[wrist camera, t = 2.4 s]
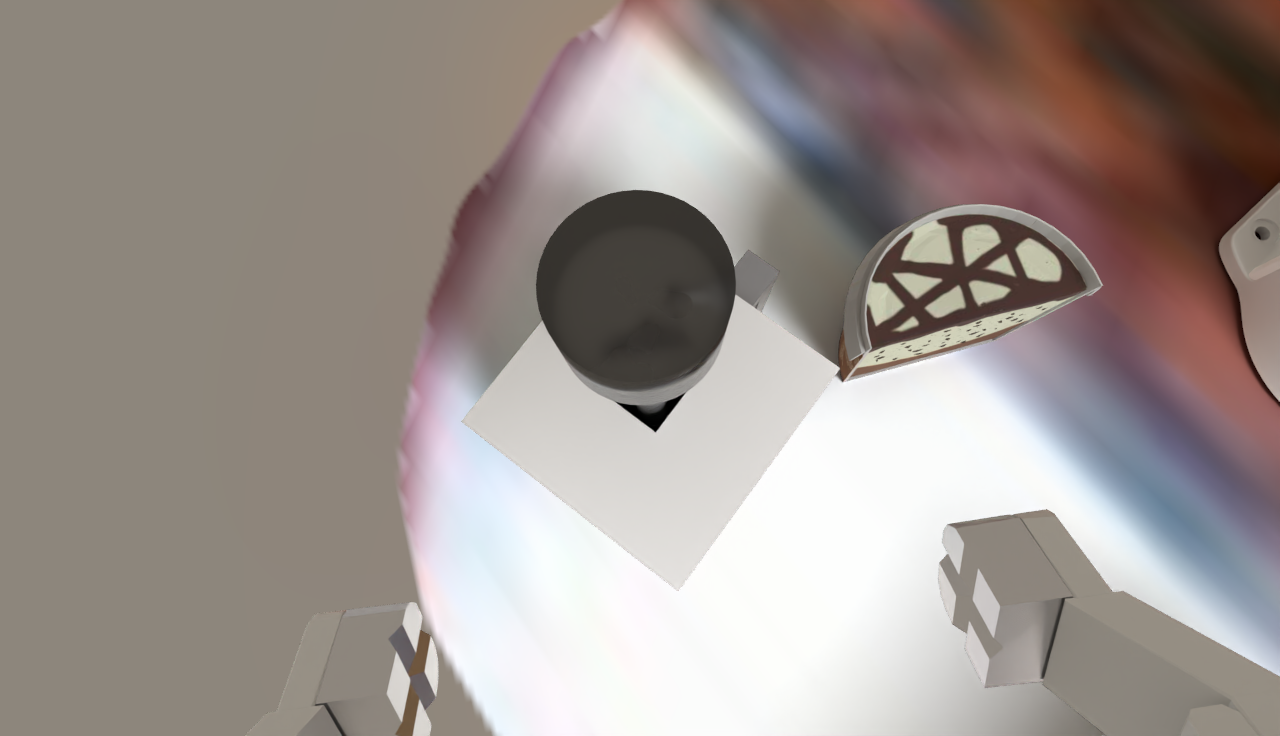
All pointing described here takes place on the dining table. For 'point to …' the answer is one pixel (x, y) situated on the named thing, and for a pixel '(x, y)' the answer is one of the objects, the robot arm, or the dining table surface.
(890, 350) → the food container
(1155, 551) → the dining table surface
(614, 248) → the plunger
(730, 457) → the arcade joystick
